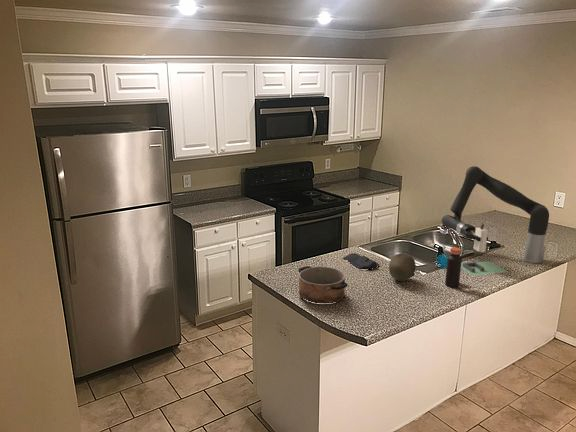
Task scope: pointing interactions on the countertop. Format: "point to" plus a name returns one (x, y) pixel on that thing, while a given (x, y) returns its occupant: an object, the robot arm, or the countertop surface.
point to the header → (468, 265)
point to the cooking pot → (321, 284)
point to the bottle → (453, 268)
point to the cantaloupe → (402, 266)
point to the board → (485, 268)
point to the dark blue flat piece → (360, 261)
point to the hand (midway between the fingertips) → (483, 239)
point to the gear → (442, 261)
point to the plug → (481, 233)
